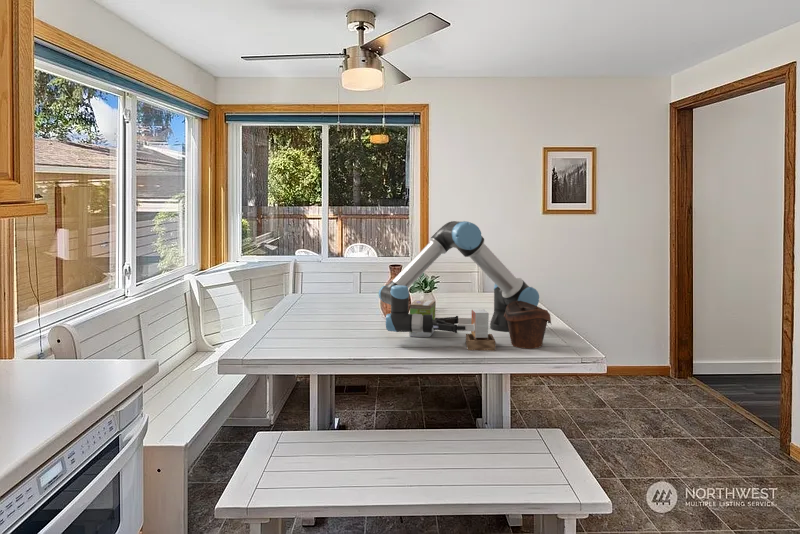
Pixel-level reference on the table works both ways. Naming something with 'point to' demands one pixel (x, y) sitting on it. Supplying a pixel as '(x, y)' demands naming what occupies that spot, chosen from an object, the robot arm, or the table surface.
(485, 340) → the crate
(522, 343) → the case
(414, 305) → the tea box
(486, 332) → the small box
